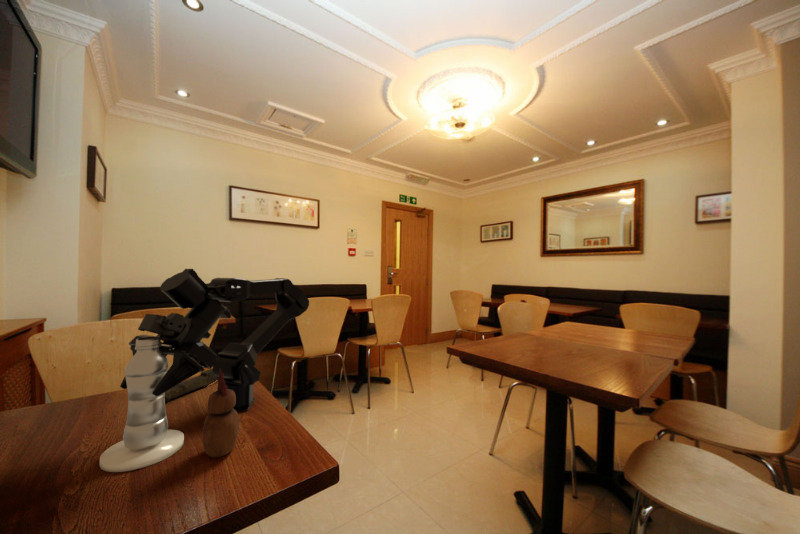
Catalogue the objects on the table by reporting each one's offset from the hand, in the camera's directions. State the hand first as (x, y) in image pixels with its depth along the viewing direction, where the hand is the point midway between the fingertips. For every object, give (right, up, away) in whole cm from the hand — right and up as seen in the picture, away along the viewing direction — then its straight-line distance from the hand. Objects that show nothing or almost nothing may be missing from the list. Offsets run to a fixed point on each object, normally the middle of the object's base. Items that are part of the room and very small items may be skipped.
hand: (138, 391), depth 56 cm
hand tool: (-11, -13, +30) cm, 35 cm away
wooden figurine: (+15, -12, +1) cm, 19 cm away
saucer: (0, -12, +1) cm, 12 cm away
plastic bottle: (+1, -11, +1) cm, 11 cm away
